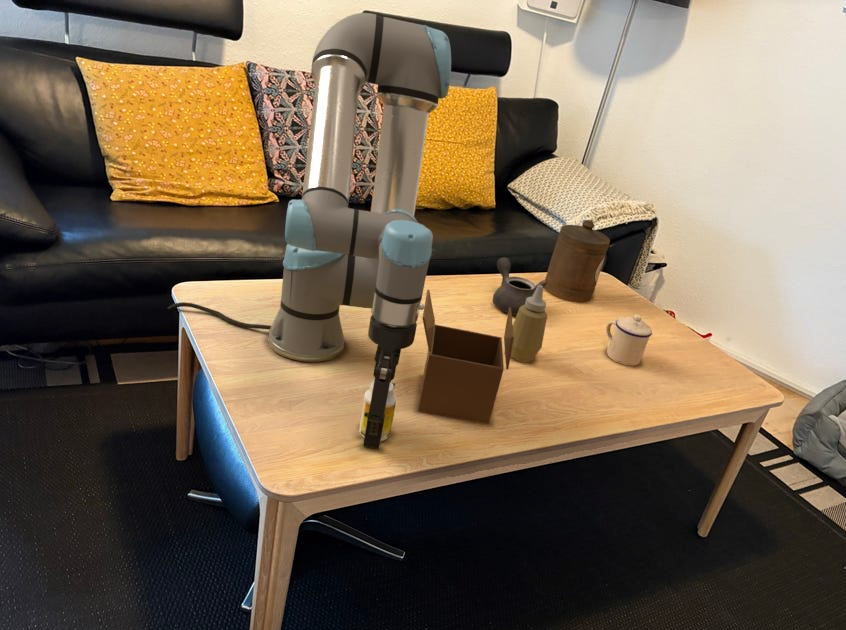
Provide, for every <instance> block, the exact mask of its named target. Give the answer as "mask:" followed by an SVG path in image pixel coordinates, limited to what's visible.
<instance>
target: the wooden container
mask: <svg viewBox="0 0 846 630" xmlns="http://www.w3.org/2000/svg"><path fill="white" fill-rule="evenodd" d="M610 243H611V239H610V238H609V237H608V236H607V235H606V234H605V233H603V232H601V231H598V230H597V229H595V223H594V222H593V221H592V220H589V219H586V220H584V221H583V222H582V225H577V224H564V225H562V226H561V227H560V230H559V233H558V236H557V240H556V243H555V245H554V249H553V252H552V255H551V258H550V262H549V266H548V268H547V272H546V276H545V279H544V280H545V281H546V283H547V284H546V285H545V286H544V289H545V290H546V291H547V292H548V293H550V294H551V295H553V296H555V297H557V298H560V299H562V300H565V301H569V302H574V303H586V302H589V301H591V300H592V298H593V296H594V293H595V290H596V286H597V285H598V281H599V278H600V274H601V271H602V268H603V265H604V262H605V258H606V255H607V252H608V249H609V247H610Z"/></svg>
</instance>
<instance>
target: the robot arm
mask: <svg viewBox="0 0 846 630" xmlns="http://www.w3.org/2000/svg"><path fill="white" fill-rule="evenodd" d="M451 50H452V49H451V43H450V39H449V37H448V35H447V34H446V33H445V32H444V31H442V30H440V29H437V28H433V27H430V26H428V25H426V24H419V23H415V22H409V21H405V20H400V19H396V18H391V17H386V16H381V15H378V14H375V13H371V12H359V13H354V14H350V15H347V16H346V17H344V18H342V19H340V20H338V21H337V22H336V23H334V24H333V25H332V26H331V27H329V29H327V31H326V32H325V33H324V35H323V36H322V37H321V39H320V40H319V42H318V43H317V46H316V47H315V50H314V53H313V56H312V61H311V62H312V63H311V69H310V71H311V72H310V73H311V78H312V80H313V82H314V84H315V87H314V95H313V102H312V103H313V104H312V110H311V111H312V112H311V120H310V127H309V136H308V145H307V152H306V153H307V154H306V161H305V169H304V176H303V183H302V195H301V199H291V200H289V202H288V204H287V210H286V217H285V227H284V228H285V229H284V239H285V240H284V241H285V242H286V247H285V252H284V257H283V261H282V266H283V273H282V274H283V275H282V285H281V294H280V307H279V309H278V311H277V312H276V313H277V314H276V315H275V317H274V320H273V321H272V324H271V325H269V324H258V323H257V324H255V323H246V322H242V321H238V320H236V319H233V318H230V317H229V316H226V315H224V314H223V313H222V312H220V311H217V310H215V309H212V308H209V307H205V306H203V305H201V304H196V303H193V302H186V301H184V302H182V301H181V302H176V303H173V304H171V305H169V306H168V307H167V310H172V311H173V310H174V309H177V308H182V307H185V308H192V309H196V310H198V311H199V310H200V311H202V312H205V313H209V314H212V315H214V316H217V317H219V318H221V319H222V320H224V321H225V322H228V323H230V324H233V325H235V326H238V327H242V328H245V329H246V328H247V329H256V330H257V329H258V330H259V329H261V330H269V331H268V338H267V341H268V345H269V347H270V349H272V351H274V352H275V353H276V354H277V355H280V356H282V357H283V358H286V359H289V360H294V361H298V362H304V363H318V362H319V363H320V362H324V361H330V360H332V359H334V358H337V357H338V356H339V355H341V353H343V350H344V347H345V346H344V345H345V335H344V332H343V327H342V326H343V325H342V322H341V318H340V307H341V306H347V307H354V308H362V309H363V308H364V309H371V310H370V313H371V315H370V319H369V325H368V331H367V335H368V338H369V339H370V341H371V342H372V343H373V344H375V345H376V346H377V347H376V350H375V354H374V362H375V363H374V368H373V378H374V380H375V381H374V380H373V381H374V386H373V392H372V398H371V404H370V409H369V413H367V412H365V414H364V417H367V418H368V419H367V426H366V432H365V438H363V443H362V444H363V445H362V447H365V448H371V449H377V450H379V449H380V445H381V441H380V440H381V435H382V429H383V424H384V418H385V414H384V413H385V407H386V402H387V397H388V391H389V386H390V382H391V383H392V384H393V385H394V388H395V386H396V383H394V382H392V381H393V380H394V379H395V375H396V370H397V367H398V365H399V363H400V359H401V358H400V357H401V353H402V350H404V349H407V348H409V347H411V346H412V345H413V343H414V342H415V337H416V331H417V327H418V323H417V322H418V320H419V314H420V311H424V306H425V303H422V298H423V293H424V288H425V283H426V278H427V275H428V274H427V273H428V269H429V264H430V260H431V258H432V255H433V249H432V246H433V240H434V236H433V232H432V230H431V229H429V228H428V227H426V226H425V225H424V224H422V223H419V222H418V220H417V219H416V218H415V213H416V205H417V200H418V199H417V198H418V192H419V184H420V179H421V178H420V177H421V170H422V164H423V156H424V148H425V143H426V142H425V141H426V135H427V128H428V121H429V115H430V114H431V113H432V112H433V111H434V110H436V109H437V108H438V106H439V101H440V100H439V99H445V98H447V96H448V94H449V90H450V83H451V74H452V73H451V72H452V51H451ZM366 83H367V84H371V85H372V84H373V85H376V86H377V93H376V96H377V98H378V99H379V101H380V103H382V105H383V111H382V118H381V126H380V133H379V134H380V135H379V143H378V151H377V159H376V167H375V174H374V181H373V182H374V183H373V191H372V197H371V198H372V199H371V206H370V211H369V210H363V209H358V208H350V207H349V200H350V189H351V180H352V168H353V158H354V149H355V148H354V147H355V137H356V127H357V117H358V115H357V114H358V106H359V105H358V104H359V95H360V92H361V91H362V90H363V89H364V87H365V86H366Z"/></svg>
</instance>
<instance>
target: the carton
mask: <svg viewBox="0 0 846 630" xmlns="http://www.w3.org/2000/svg"><path fill="white" fill-rule="evenodd" d="M512 315H513V314H511V308H510V307H509V310H508V313H507V317H506V323H505V328H504V334H503V337H502V336H496V335H492V334H486V333H481V332H477V331H472V330H471V331H470V330H466V329H461V328H456V327H450V326H446V325H439V324H435V325H434V332H433V340H432V348H431V351H430V352H429V350H428V349H427V355H426V358H425V359H426V360H425V364H424V369H423V374H422V379H421V386H420V393H419V394H420V395H419V399H418V405H417V406H418V407H417V412H422V413H426V414H432V415H438V416H442V417H449V418H453V419H454V418H456V419H460V420H466V421H471V422H476V423H483V424H488V425H490V422H491V418H492V414H493V410H494V408H495V407H494V406H495V403H496V399H497V396H498V391H499V388H500V385H501V381H502V378H503V373H504V370H507V371H508V370H509V369H510V368H509V367H510V362H511V358H512V357H511V351H512V345H513V339H514V334H513V316H512ZM503 345H504V353H503ZM504 357H505V364H504ZM504 365H505V366H504ZM504 367H505V368H504Z"/></svg>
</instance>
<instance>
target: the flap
mask: <svg viewBox="0 0 846 630" xmlns="http://www.w3.org/2000/svg"><path fill="white" fill-rule="evenodd" d="M431 297H432V296H431V291H430V289H427V290H426V295H425V300H424V309H423V313H422V317H421V319H422V323H423V324H422V325H423V329H424V333H425V339H426V344H427V351H428V350H429V352H430V351H431V348H432V340H433V332H434V325H436V324H435V323H436V319H435V315H434V308H433V304H432V298H431Z"/></svg>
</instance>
